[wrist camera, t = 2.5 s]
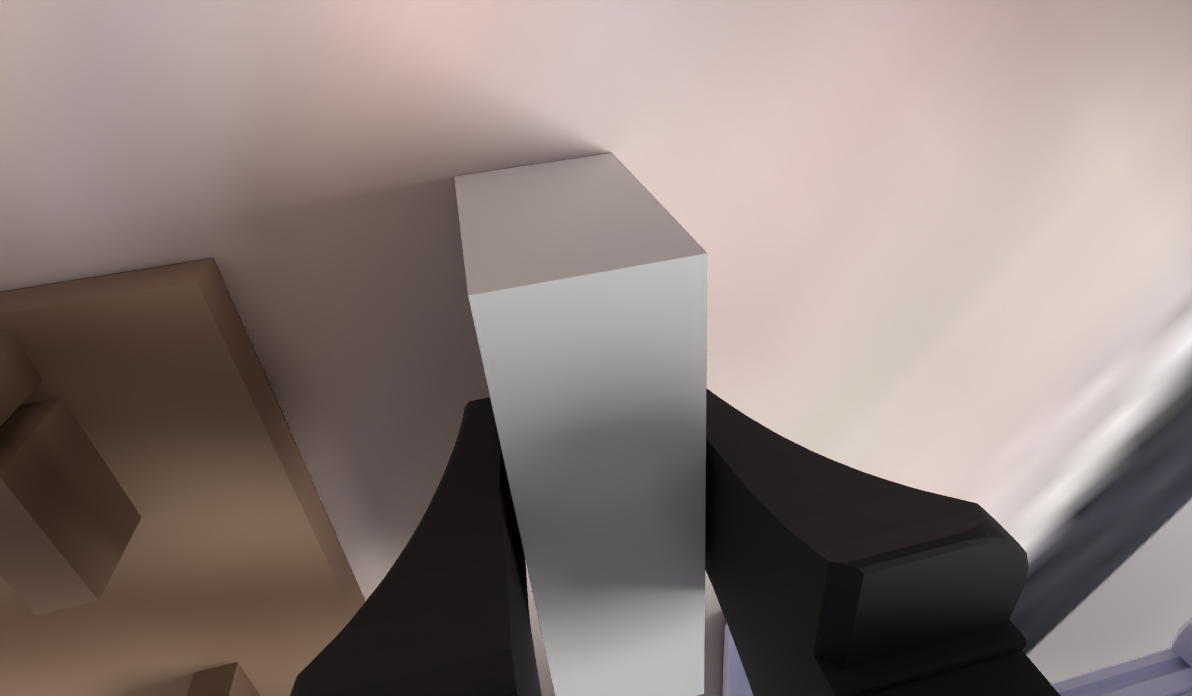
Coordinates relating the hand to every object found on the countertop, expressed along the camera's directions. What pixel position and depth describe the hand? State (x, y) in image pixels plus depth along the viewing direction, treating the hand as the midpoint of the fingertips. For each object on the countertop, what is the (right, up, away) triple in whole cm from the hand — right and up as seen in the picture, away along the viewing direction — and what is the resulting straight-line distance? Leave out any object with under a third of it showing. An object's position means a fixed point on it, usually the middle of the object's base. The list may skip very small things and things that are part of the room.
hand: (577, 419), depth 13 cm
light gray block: (0, +1, +1) cm, 2 cm away
